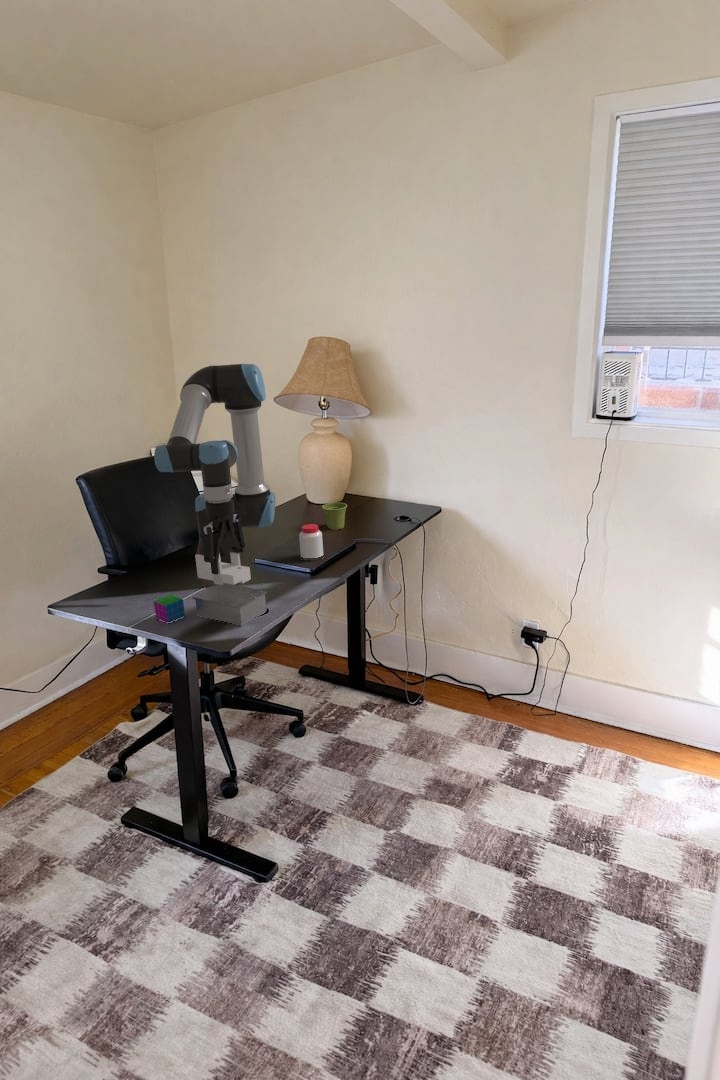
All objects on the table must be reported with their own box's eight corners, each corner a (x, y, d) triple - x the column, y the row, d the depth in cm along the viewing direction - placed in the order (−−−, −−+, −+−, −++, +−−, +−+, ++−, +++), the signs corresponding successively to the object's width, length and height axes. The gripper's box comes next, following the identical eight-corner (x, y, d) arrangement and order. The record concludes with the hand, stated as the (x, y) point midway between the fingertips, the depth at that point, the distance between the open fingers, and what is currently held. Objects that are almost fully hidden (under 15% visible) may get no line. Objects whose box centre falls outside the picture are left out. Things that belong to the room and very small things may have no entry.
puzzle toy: (185, 617, 206) (182, 598, 204) (168, 624, 202) (165, 605, 200) (173, 613, 209) (170, 594, 208) (156, 619, 205) (153, 601, 204)
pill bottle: (320, 561, 244) (318, 530, 240) (298, 561, 245) (295, 529, 242) (326, 553, 251) (324, 523, 247) (304, 553, 252) (302, 522, 249)
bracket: (198, 580, 204) (195, 555, 202) (215, 572, 210) (212, 547, 208) (234, 587, 198) (231, 561, 195) (250, 579, 204) (248, 553, 201)
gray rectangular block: (194, 616, 206) (192, 597, 204) (222, 600, 216) (220, 582, 214) (242, 627, 198) (239, 607, 196) (269, 610, 207) (267, 591, 205)
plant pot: (345, 531, 273) (344, 509, 270) (321, 531, 274) (319, 509, 272) (350, 524, 281) (349, 502, 279) (326, 524, 283) (324, 502, 280)
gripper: (204, 510, 186) (214, 594, 193) (253, 491, 202) (260, 569, 209) (182, 507, 190) (193, 589, 197) (232, 489, 206) (240, 565, 213)
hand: (228, 579), depth 203 cm, fingers closed on bracket, 7 cm apart
